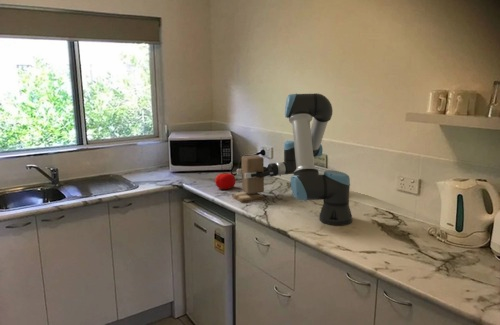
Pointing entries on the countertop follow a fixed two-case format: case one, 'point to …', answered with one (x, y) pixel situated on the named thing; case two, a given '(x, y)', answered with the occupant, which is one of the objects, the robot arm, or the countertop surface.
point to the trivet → (247, 197)
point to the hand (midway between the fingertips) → (240, 173)
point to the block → (249, 166)
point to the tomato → (225, 181)
